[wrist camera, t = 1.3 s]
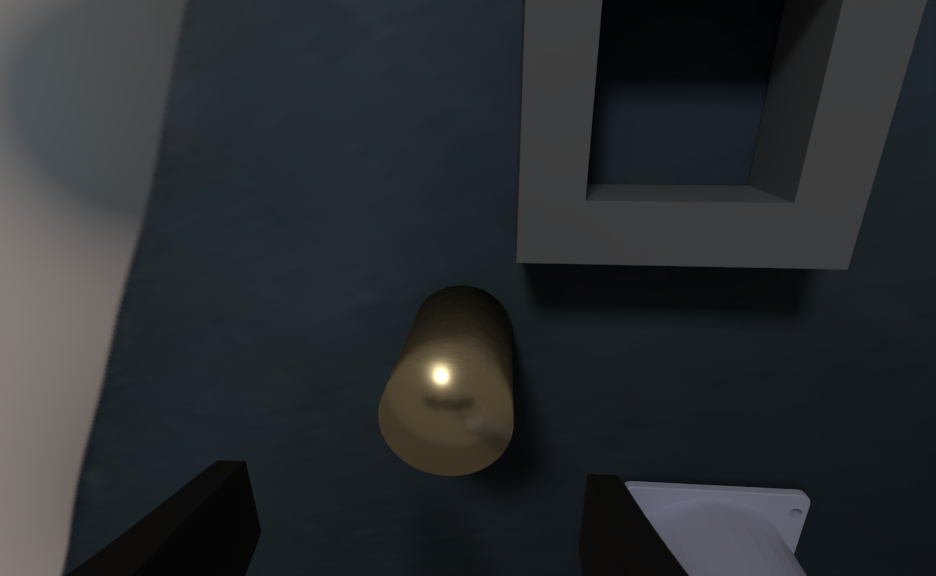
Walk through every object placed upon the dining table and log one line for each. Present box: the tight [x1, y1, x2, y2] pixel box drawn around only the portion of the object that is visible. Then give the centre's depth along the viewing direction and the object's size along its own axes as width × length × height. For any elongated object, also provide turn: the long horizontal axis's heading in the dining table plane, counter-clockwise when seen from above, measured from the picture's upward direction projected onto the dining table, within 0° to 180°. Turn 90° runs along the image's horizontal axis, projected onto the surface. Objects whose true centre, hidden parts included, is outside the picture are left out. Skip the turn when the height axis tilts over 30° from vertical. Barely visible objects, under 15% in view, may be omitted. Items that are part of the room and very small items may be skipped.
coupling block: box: [515, 0, 927, 269], centre depth 15 cm, size 10×10×3 cm
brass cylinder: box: [378, 286, 514, 476], centre depth 17 cm, size 4×4×6 cm
